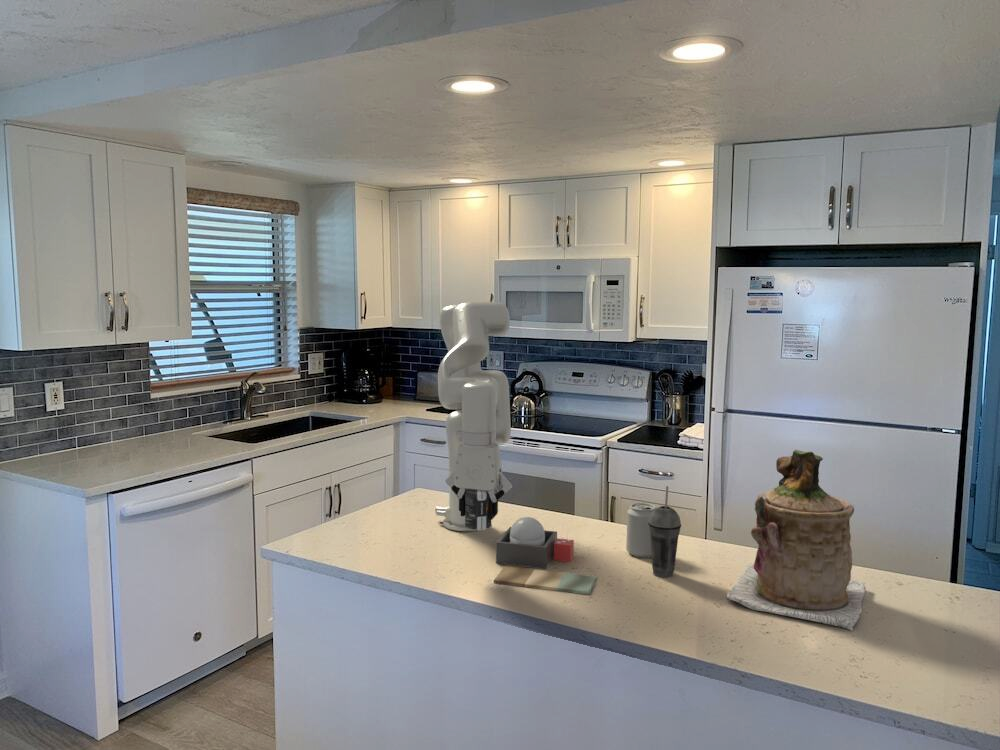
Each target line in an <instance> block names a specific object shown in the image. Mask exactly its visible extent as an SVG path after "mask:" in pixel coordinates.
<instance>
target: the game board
mask: <svg viewBox="0 0 1000 750" xmlns="http://www.w3.org/2000/svg"><path fill="white" fill-rule="evenodd" d="M596 580H597V576H596V575H588V574H581V573H579V574H578V573H571V572H563V571H553V570H546V569H539V568H536V569H535V568H530V567H529V568H527V567H522V566H513V565H511V566H510V565H504V567H503V568H502V569H501V571H500V572H499V573H498V574H497V575H496V576H495V578H494V579H493V583H494V584H501V585H509V586H517V587H523V588H524V587H525V588H533V589H541V590H542V589H543V590H548V591H558V592H564V593H565V592H567V593H574V594H581V595H590V593H591V591H592V589H593V588H594V584H595V582H596Z"/></svg>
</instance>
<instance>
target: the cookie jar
mask: <svg viewBox="0 0 1000 750" xmlns="http://www.w3.org/2000/svg"><path fill="white" fill-rule="evenodd" d="M823 459H824V458H823V457H822V456H821V455H817V454H815V453H814V452H813V451H810V450H808V451H806V452H805V451H802V450H799V449H794V450H793V452H792V455H789V456H781V457H778V458H777V459H776V465H775V466H776V471H777V472H778V473H779V474H781V475H782V476H783V477H782V478H781V479H780V480H779V481H778V486H776V487H774V488H772V489H771V490H769V491H767V492H763V493H762V494H759V495H757V498H756V500H755V502H754V511H755V514H756V521H755V522H756V523H755V524H756V526H755V527H753V528H752V529H751V530H750V535H751V537H752V538H753V540H754V541H756V543H757V545H758V548H757V551H756V553H755V554H756V555H755V560H754V563H749V564H747V565H746V566H745V567H746V568H745V569H744V571H743V573H741V574H740V575H739V576H738V579H737V580H736V582H735V584H734V585H733V586H732V588H731V590H730V591H728V592H727V595H726V599H727V600H730V601H734V602H736V603H738V604H741V605H742V606H744V607H746V608H748V609H750V610H753V611H760V612H765V613H766V612H767V613H771V614H777V615H781V616H786V617H792V618H796V619H801V620H808V621H811V622H817V623H820V624H821V623H823V624H825V625H831V626H835V627H841V628H843V629H846V630H850V631H852V632H853V631H854V626H855V624H857V622H858V620H859V619H860V618H861V617H860V615H861V614H862V611H863V609H862V601H863V598H864V597H865V594H866V584H865V583H864V582H863V581H860V580H854V579H852V569H853V552H852V547H851V539H852V536H851V527H850V526H851V525H850V521H851V520H850V519H851V518H852V516H853V514H854V512H855V507H854V505H852V504H851V502H848V501H846V500H844V499H842V498H840V497H835V496H831V494H828V493H827V492H826V491H825V490H824V489H823V488H821V486H820V485H819V482H820V478H819V477H820V476H819V475H820V473H819V469H820V463H821V462H822V461H823Z"/></svg>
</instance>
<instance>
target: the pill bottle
mask: <svg viewBox="0 0 1000 750" xmlns="http://www.w3.org/2000/svg"><path fill="white" fill-rule="evenodd" d="M490 501H491V498H490V495H489V493H488V491H481V490H471V489H466V491H465V526H466V528H468V529H470V530H477V532H478V531H486V530H489V529H490V528H491V526H492V520H491V519H489V502H490Z"/></svg>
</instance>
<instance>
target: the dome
mask: <svg viewBox="0 0 1000 750" xmlns="http://www.w3.org/2000/svg"><path fill="white" fill-rule="evenodd" d="M510 527H511V530H510V543H518V544H527V545H537V546H544V545H545V531H544V530H545V528H544V526H543V524H542V523H541V522H540V521H539V520H537V518H534V517H531V516H526V517H525V516H524V517H520V518H518V519H517V520H516V521H515V522H513V524H512V526H510Z"/></svg>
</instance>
